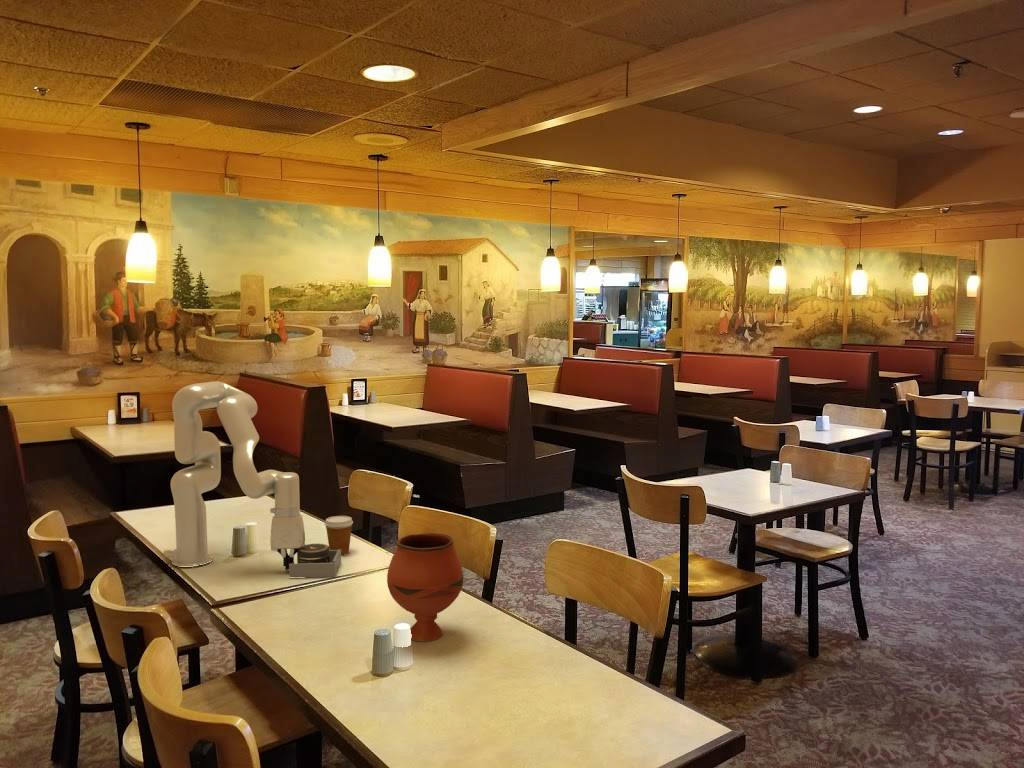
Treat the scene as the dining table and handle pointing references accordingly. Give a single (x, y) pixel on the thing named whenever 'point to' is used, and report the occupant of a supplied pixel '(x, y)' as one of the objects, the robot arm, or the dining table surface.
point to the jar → (314, 554)
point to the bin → (317, 567)
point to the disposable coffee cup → (339, 533)
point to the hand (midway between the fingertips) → (288, 568)
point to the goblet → (425, 580)
